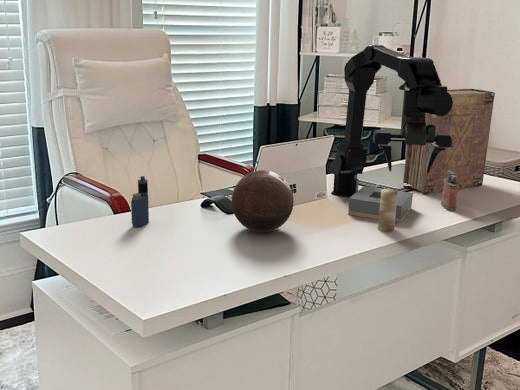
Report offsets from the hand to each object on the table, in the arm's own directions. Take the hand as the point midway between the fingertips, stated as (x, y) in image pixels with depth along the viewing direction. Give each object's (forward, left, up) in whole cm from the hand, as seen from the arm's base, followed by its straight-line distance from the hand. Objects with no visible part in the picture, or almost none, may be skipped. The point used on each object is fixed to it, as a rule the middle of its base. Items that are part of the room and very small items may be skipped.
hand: (408, 172), depth 155 cm
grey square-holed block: (-8, +7, -14) cm, 17 cm away
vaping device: (-58, -34, -14) cm, 68 cm away
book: (+3, +43, -14) cm, 45 cm away
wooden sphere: (-30, -23, -14) cm, 40 cm away
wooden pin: (-3, -7, -14) cm, 16 cm away
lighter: (+8, +21, -14) cm, 27 cm away
